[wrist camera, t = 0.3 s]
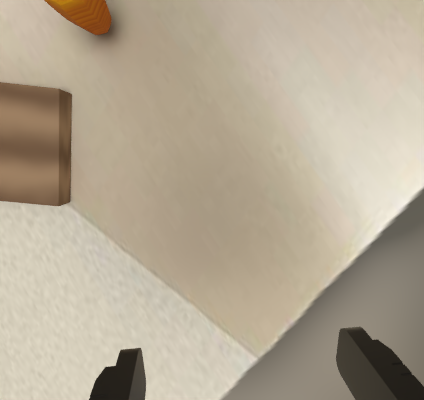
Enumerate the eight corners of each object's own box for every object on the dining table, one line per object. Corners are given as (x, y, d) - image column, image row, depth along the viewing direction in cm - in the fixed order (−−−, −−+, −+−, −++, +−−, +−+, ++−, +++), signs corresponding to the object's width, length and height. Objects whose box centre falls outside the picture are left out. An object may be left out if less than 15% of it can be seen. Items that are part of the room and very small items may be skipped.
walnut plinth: (-42, 81, 34) (-65, 75, 31) (71, 94, 35) (59, 88, 32) (-36, 191, 37) (-57, 195, 34) (70, 201, 37) (58, 206, 34)
